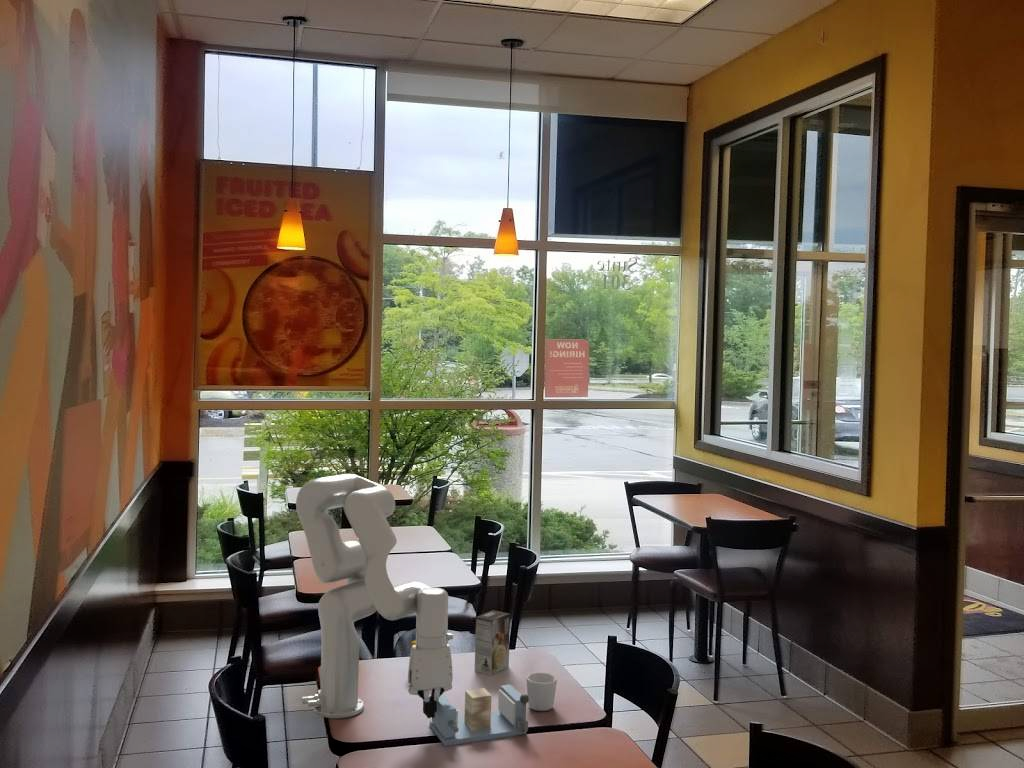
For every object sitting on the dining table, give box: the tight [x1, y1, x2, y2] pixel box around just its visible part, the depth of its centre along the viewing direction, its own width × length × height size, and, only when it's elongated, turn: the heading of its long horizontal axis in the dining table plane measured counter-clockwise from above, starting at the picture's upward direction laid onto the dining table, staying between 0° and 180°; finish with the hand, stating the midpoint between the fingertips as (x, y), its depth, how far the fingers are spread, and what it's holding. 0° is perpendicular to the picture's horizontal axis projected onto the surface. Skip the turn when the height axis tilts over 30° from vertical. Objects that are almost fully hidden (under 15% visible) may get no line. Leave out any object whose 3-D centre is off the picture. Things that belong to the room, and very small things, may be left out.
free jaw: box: [431, 693, 459, 738], centre depth 217 cm, size 3×14×7 cm, turn 23°
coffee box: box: [474, 610, 511, 676], centre depth 264 cm, size 9×6×16 cm
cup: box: [525, 672, 558, 712], centre depth 238 cm, size 11×8×8 cm
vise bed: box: [429, 684, 529, 747], centre depth 221 cm, size 21×14×10 cm
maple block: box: [464, 687, 492, 730], centre depth 222 cm, size 5×5×8 cm
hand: (429, 715), depth 217 cm, fingers closed
